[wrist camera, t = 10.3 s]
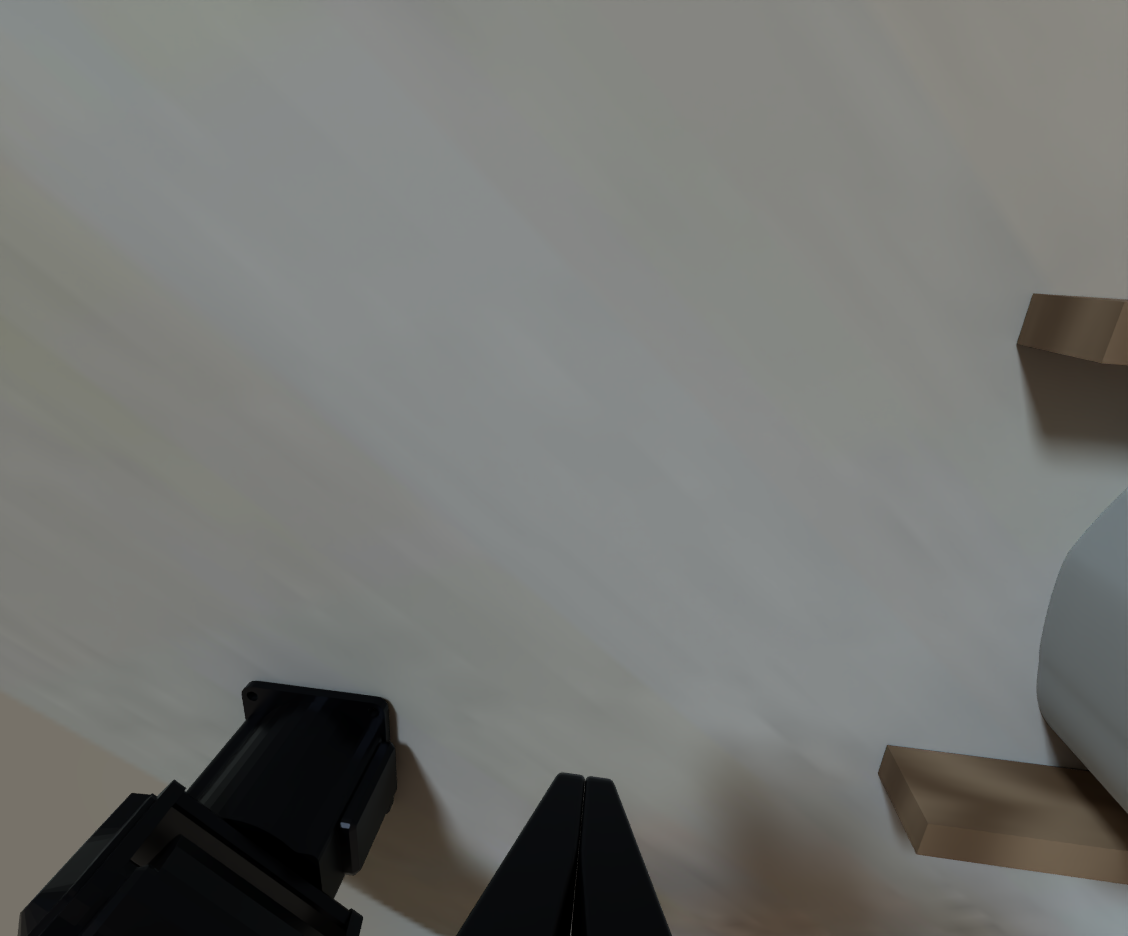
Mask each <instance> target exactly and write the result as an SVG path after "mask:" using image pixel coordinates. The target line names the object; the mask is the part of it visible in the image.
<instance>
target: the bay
mask: <svg viewBox="0 0 1128 936" xmlns="http://www.w3.org/2000/svg"><path fill="white" fill-rule="evenodd" d="M1017 344H1019V345H1023V346H1028V347H1032V348H1037V349H1041V350H1045V351H1050V352H1054V353H1059V354H1063V355H1067V356H1072V357H1076V358H1081V359H1085V360H1089V361H1094V362H1098V363H1105V364H1118V365H1128V300H1124V299H1108V298H1093V297H1078V296H1063V295H1048V294H1033V296H1032V299H1031V302H1030V305H1029V308H1028V311H1027V314H1026V317H1025V320H1024V324H1023V327H1022V330H1021V333H1020V336H1019V339H1018V342H1017ZM878 774H879V776H880V778H881V781H882V783H883V785H884V787H885V789H886V791H887V793H888V795H889V797H890V799H891V802H892V804H893V806H894V808H895V810H896V812H897V814H898V816H899V818H900V821H901V823H902V825H903V827H904V829H905V831H906V833H907V835H908V837H909V840H910V842H911V844H912V846H913V848H914V850H915V852H916V854H918V855H925V856H932V857H939V858H946V859H953V860H960V861H967V862H974V863H981V864H988V865H995V866H1001V867H1008V868H1015V869H1022V870H1029V871H1036V872H1043V873H1050V874H1057V875H1064V876H1071V877H1078V878H1085V879H1092V880H1099V881H1106V882H1113V883H1120V884H1127V885H1128V813H1127V812H1126V811H1125V810H1124V809H1123V808H1122V807H1121V806H1120V804H1119V803H1118V802H1117V801H1116V800H1115V799H1114V798H1113V797H1112V795H1111V794H1110V793H1109V792H1108V791H1107V790H1106V789H1105V788H1104V786H1103V785H1102V784H1101V783H1100V782H1099V781H1098V780H1097V779H1096V777H1095V776H1094V775H1093V774H1092V773H1091V772H1090V771H1084V770H1077V769H1069V768H1061V767H1053V766H1046V765H1038V764H1030V763H1022V762H1015V761H1007V760H999V759H991V758H984V757H976V756H968V755H960V754H952V753H945V752H937V751H929V750H921V749H914V748H906V747H898V746H890V745H887V747H886V750H885V753H884V757H883V760H882V763H881V766H880V769H879V772H878Z"/></svg>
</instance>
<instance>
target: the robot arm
mask: <svg viewBox="0 0 1128 936" xmlns="http://www.w3.org/2000/svg"><path fill="white" fill-rule="evenodd" d="M254 692H255V693H254ZM242 700H243V706H244V712H245V719H246V721H245V722H244V723H243V724H242V726H241V727H240V728H239V729H238V730H237V732H236V733H235V734H234V735H233V736H232V737H231V739H230V740H229V741H228V742H227V743H226V745H225V746H224V747H223V748H222V749H221V751H220V752H219V753H218V754H217V755H216V757H215V758H214V759H213V760H212V761H211V763H210V764H209V765H208V766H207V767H206V769H205V770H204V771H203V772H202V773H201V775H200V776H199V777H198V778H197V779H196V781H195V782H194V783H193V784H192V785H191V787H190V788H189V789H188V790H187V791H186V792H185V789H186V788H185V787H184V786H183V785H181V784H180V783H178V782H177V781H176V780H173V781H172V782H171V783H170V784H169V785H168V786H167V787H166V788H165V789H164V790H163V791H162V792H161V793H160V794H159V795H158V796H156V795H154V794H151V795H148V794H136V793H131V794H130V795H129V796H128V798H126V799H125V801H124V802H123V803H122V804H121V805H120V806H119V807H118V808H117V809H116V810H115V811H114V812H113V813H112V814H111V816H110V817H109V818H108V819H107V820H106V821H105V822H104V823H103V824H102V825H101V826H100V827H99V828H98V829H97V831H95V833H94V834H93V835H92V836H91V837H90V838H89V839H88V840H87V841H86V842H85V843H84V844H83V846H82V847H81V848H80V849H79V850H78V851H77V852H76V853H75V854H74V855H73V856H72V857H71V858H70V859H69V861H68V862H67V863H66V864H65V865H64V866H63V867H62V868H61V869H60V870H59V872H58V873H57V874H56V875H55V876H54V877H53V878H52V879H51V880H50V881H49V882H48V883H47V885H46V886H45V887H44V888H43V889H42V890H41V891H40V892H39V893H38V894H37V895H36V897H35V898H34V899H33V900H32V901H31V902H30V903H29V904H28V905H27V906H26V907H25V909H24V910H23V911H22V912H21V913H20V919H19V929H18V936H359V934H360V929H361V925H362V921H363V916H362V915H360V914H359V913H357V912H356V911H355V910H353V909H350V910H348V909H347V908H345V907H344V906H343V905H341V904H340V903H339V902H337V901H336V900H334V897H335V895H336V893H337V891H338V889H339V887H340V885H341V882H342V880H343V878H344V876H345V874H347V875H355V874H356V873H357V872H359V871H360V870H361V868H362V866H363V864H364V861H365V859H366V857H367V855H368V852H369V850H370V848H371V846H372V843H373V841H374V839H375V837H376V834H377V832H378V830H379V828H380V825H381V823H382V821H383V819H384V816H385V814H387V813H388V812H389V811H390V809H391V807H392V804H393V796H394V794H395V792H396V789H397V777H396V757H395V747H394V745H393V744H392V742H390V728H389V710H388V704H387V703H386V701H385V700H384V699H382V698H380V697H376V696H368V695H361V694H353V693H346V692H338V691H330V690H323V689H315V688H307V687H300V686H292V685H285V684H277V683H269V682H262V681H251V682H249V684H248V685H247V686H246V687H245V688H244V689H243V691H242ZM374 708H376V709H377V710H375V709H374ZM584 786H585V789H584ZM583 797H584V800H583ZM582 808H583V810H582ZM581 819H582V821H581ZM580 830H581V832H580ZM579 841H580V842H579ZM578 851H579V853H578ZM577 862H578V864H577ZM576 872H577V875H576ZM575 883H576V885H575ZM574 893H575V896H574ZM573 903H574V907H573ZM572 914H573V918H572ZM571 924H572V930H571ZM570 933H571V936H672V935H671V932H670V929H669V927H668V924H667V921H666V919H665V916H664V914H663V911H662V908H661V906H660V903H659V900H658V898H657V895H656V892H655V890H654V887H653V885H652V882H651V879H650V877H649V874H648V871H647V869H646V866H645V863H644V861H643V858H642V856H641V853H640V850H639V848H638V845H637V842H636V840H635V837H634V834H633V832H632V829H631V827H630V824H629V821H628V819H627V816H626V813H625V811H624V808H623V805H622V803H621V800H620V798H619V795H618V792H617V790H616V787H615V785H614V783H613V781H612V780H611V779H607V778H600V777H593V776H589V777H587V778H586V781H585V779H584V777H583V776H582V775H578V774H571V773H564V772H562V773H559V774H558V775H557V776H556V777H555V779H554V781H553V782H552V784H551V785H550V787H549V789H548V790H547V792H546V793H545V795H544V797H543V798H542V800H541V801H540V803H539V805H538V806H537V808H536V809H535V811H534V812H533V814H532V816H531V817H530V819H529V820H528V822H527V824H526V825H525V827H524V828H523V830H522V832H521V833H520V835H519V836H518V838H517V840H516V841H515V843H514V844H513V846H512V848H511V849H510V851H509V852H508V854H507V856H506V857H505V859H504V860H503V862H502V863H501V865H500V867H499V868H498V870H497V871H496V873H495V875H494V876H493V878H492V879H491V881H490V883H489V884H488V886H487V887H486V889H485V891H484V892H483V894H482V895H481V897H480V899H479V900H478V902H477V903H476V905H475V907H474V908H473V910H472V911H471V913H470V915H469V916H468V918H467V919H466V921H465V922H464V924H463V926H462V927H461V929H460V930H459V932H458V934H457V935H456V936H570Z"/></svg>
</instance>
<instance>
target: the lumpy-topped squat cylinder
mask: <svg viewBox="0 0 1128 936" xmlns="http://www.w3.org/2000/svg"><path fill="white" fill-rule="evenodd" d="M1037 699H1038V704H1039V708H1040V711H1041V713H1042V715H1043V717H1044V719H1045V720H1046V722H1047V723H1048V724H1049V726H1050V727H1051V728H1052V729H1053V730H1054V731H1055V732H1056V734H1057V735H1058V736H1059V737H1060V738H1061V739H1062V740H1063V741H1064V743H1065V744H1066V745H1067V746H1068V747H1069V748H1070V749H1071V750H1072V752H1073V753H1074V754H1075V755H1076V756H1077V757H1078V758H1079V759H1080V761H1081V762H1082V763H1083V764H1084V765H1085V766H1086V767H1087V768H1088V770H1089V771H1090V772H1091V773H1092V774H1093V775H1094V776H1095V777H1096V779H1097V780H1098V781H1099V782H1100V783H1101V784H1102V785H1103V786H1104V788H1105V789H1106V790H1107V791H1108V792H1109V793H1110V794H1111V795H1112V797H1113V798H1114V799H1115V800H1116V801H1117V802H1118V803H1119V804H1120V806H1121V807H1122V808H1123V809H1124V810H1125V811H1126V812H1127V813H1128V488H1127V489H1126V490H1125V491H1124V492H1122V493H1121V494H1120V495H1119V496H1118V497H1117V498H1116V499H1115V500H1114V501H1113V502H1112V503H1111V504H1110V505H1109V506H1108V507H1107V509H1106V510H1105V511H1104V512H1103V513H1102V514H1101V515H1100V516H1099V517H1098V518H1097V519H1096V520H1095V521H1094V522H1093V524H1092V525H1091V526H1090V527H1089V528H1088V529H1087V530H1086V531H1085V533H1084V534H1083V535H1082V536H1081V537H1080V538H1079V540H1078V541H1077V542H1076V543H1075V545H1074V546H1073V547H1072V548H1071V550H1070V551H1069V553H1068V554H1067V556H1066V558H1065V560H1064V562H1063V564H1062V566H1061V569H1060V571H1059V574H1058V577H1057V580H1056V583H1055V586H1054V589H1053V592H1052V595H1051V599H1050V603H1049V606H1048V610H1047V614H1046V618H1045V623H1044V627H1043V632H1042V637H1041V643H1040V650H1039V665H1038V674H1037Z"/></svg>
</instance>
